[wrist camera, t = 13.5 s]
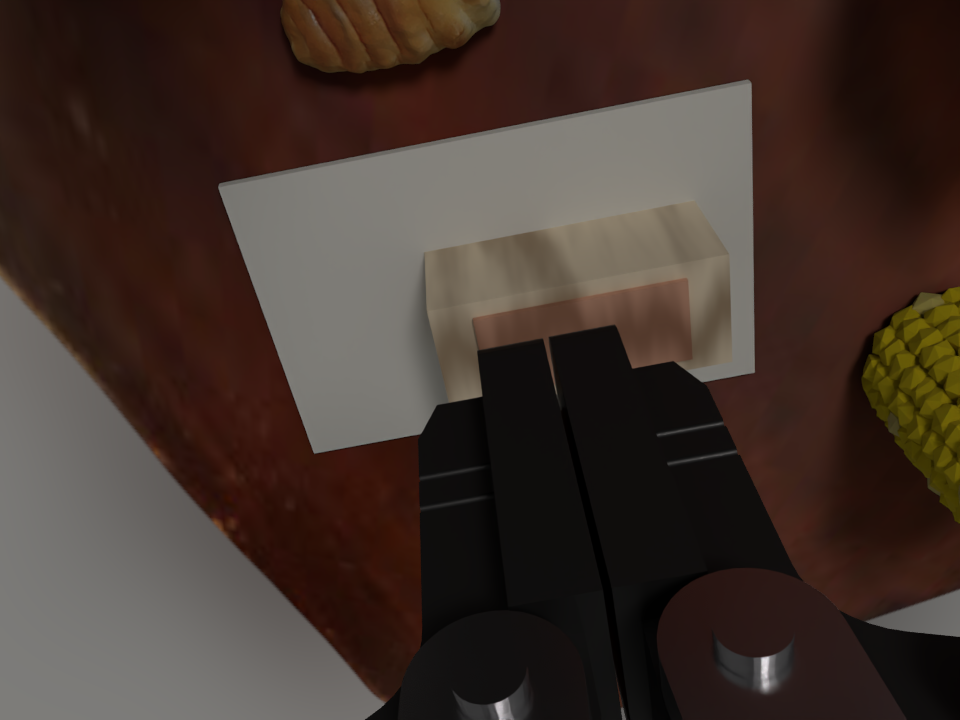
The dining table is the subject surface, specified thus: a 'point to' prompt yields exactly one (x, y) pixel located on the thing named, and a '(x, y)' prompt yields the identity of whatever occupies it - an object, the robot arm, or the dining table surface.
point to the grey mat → (468, 240)
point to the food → (922, 388)
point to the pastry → (380, 30)
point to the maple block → (585, 291)
